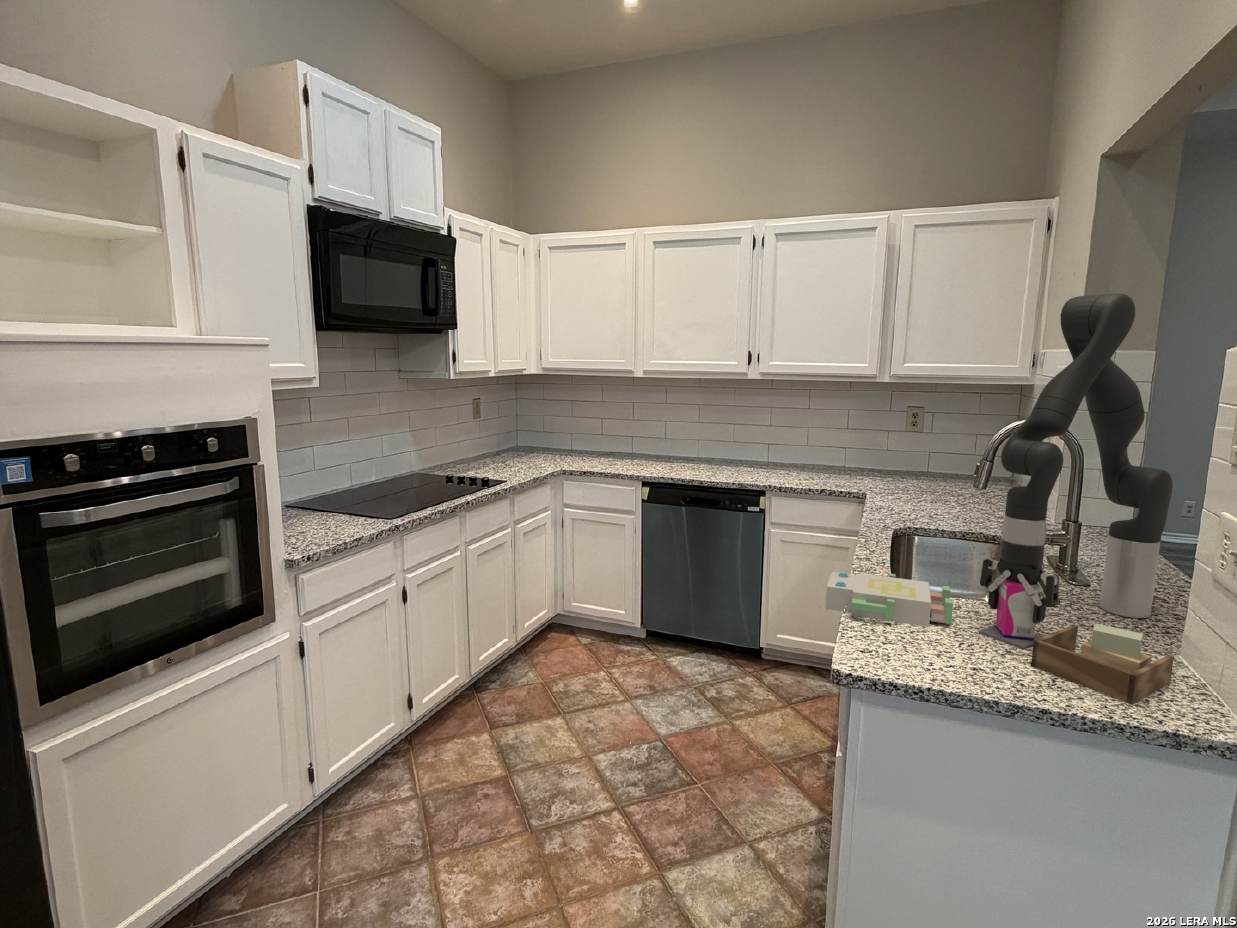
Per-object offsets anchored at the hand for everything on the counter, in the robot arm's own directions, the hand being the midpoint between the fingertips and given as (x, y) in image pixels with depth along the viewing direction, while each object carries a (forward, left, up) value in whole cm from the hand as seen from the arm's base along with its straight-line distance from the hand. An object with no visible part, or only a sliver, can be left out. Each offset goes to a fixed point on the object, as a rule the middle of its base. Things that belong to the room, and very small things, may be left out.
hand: (1014, 615), depth 133 cm
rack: (+3, +17, -5) cm, 18 cm away
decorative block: (+10, -23, -5) cm, 25 cm away
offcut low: (-1, +18, -5) cm, 18 cm away
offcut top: (-1, +17, -1) cm, 17 cm away
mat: (0, 0, -5) cm, 5 cm away
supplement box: (0, 0, -4) cm, 4 cm away
